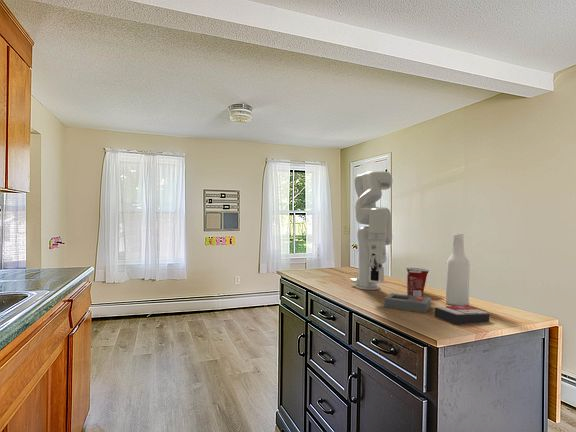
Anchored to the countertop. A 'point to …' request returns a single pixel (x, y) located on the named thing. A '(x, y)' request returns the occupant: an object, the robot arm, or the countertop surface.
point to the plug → (381, 274)
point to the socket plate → (407, 302)
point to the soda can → (415, 283)
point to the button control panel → (461, 315)
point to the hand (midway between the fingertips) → (376, 278)
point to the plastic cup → (423, 271)
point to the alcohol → (457, 274)
